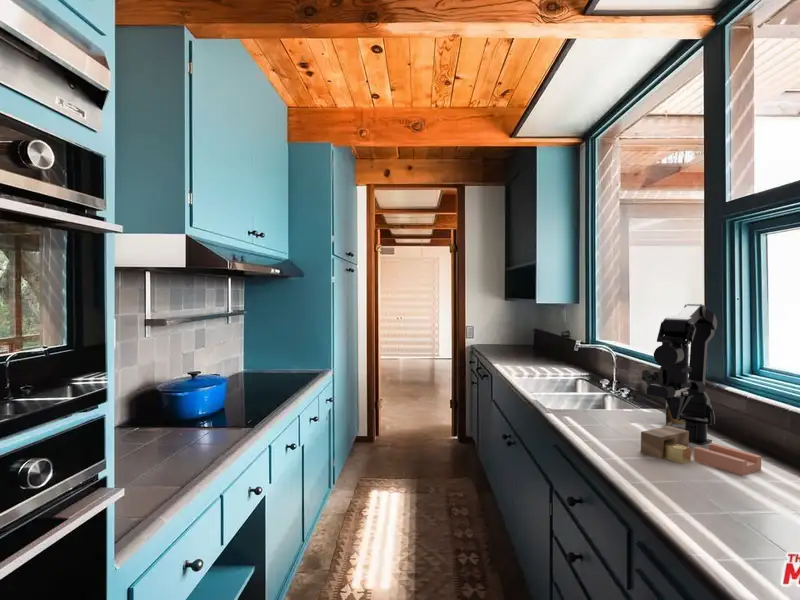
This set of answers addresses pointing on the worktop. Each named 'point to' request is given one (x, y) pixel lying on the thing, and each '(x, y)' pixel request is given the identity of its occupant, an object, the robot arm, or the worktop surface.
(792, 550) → the worktop surface
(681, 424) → the product box
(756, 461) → the rust cradle
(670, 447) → the brass block
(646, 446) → the walnut beam
